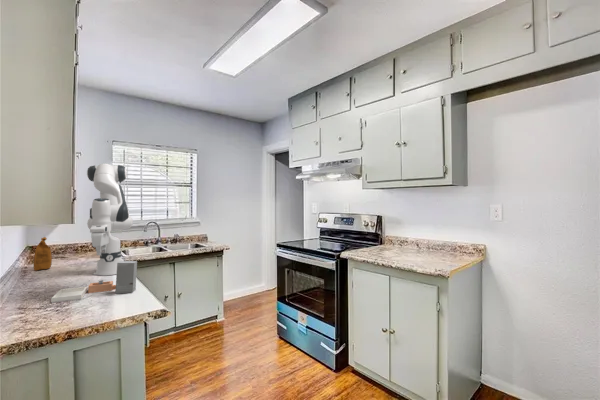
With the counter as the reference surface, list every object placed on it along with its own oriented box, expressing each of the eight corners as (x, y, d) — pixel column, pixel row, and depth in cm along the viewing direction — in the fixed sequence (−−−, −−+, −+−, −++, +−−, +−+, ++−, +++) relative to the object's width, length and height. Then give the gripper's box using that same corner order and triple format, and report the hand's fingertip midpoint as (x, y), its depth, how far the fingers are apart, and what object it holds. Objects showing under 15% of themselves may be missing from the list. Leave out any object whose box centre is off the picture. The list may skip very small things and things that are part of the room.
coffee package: (53, 266, 218) (53, 236, 218) (50, 269, 207) (51, 238, 208) (35, 268, 212) (35, 237, 212) (31, 271, 202) (32, 239, 202)
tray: (60, 293, 153) (60, 289, 153) (87, 290, 158) (87, 286, 158) (51, 302, 139) (51, 298, 139) (81, 299, 144) (81, 294, 144)
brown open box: (88, 293, 154) (88, 286, 154) (90, 289, 160) (90, 283, 160) (115, 290, 159) (116, 283, 159) (117, 287, 165) (117, 280, 165)
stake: (98, 289, 160) (98, 280, 160) (104, 289, 161) (104, 280, 161) (96, 291, 156) (96, 282, 156) (103, 291, 157) (103, 281, 157)
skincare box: (115, 294, 152) (115, 263, 153) (119, 290, 159) (119, 260, 159) (133, 292, 155) (133, 262, 155) (137, 289, 161) (137, 259, 162)
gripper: (99, 227, 169) (99, 252, 168) (89, 229, 150) (88, 257, 149) (112, 227, 171) (112, 251, 171) (103, 228, 152) (103, 256, 152)
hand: (101, 254), depth 160 cm, fingers open, 8 cm apart
